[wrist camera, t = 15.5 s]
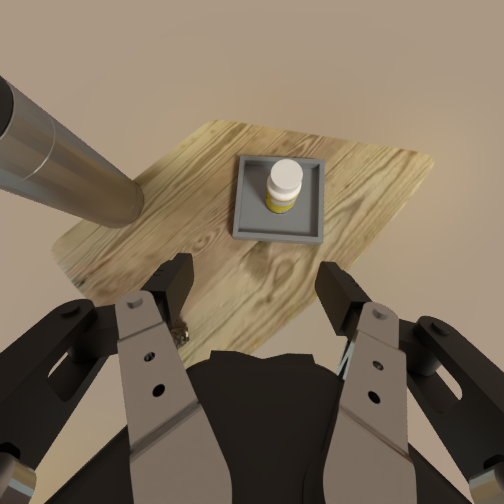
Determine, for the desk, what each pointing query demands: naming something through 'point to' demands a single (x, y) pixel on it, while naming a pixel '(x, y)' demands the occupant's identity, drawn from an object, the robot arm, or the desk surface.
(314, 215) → the tray
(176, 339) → the cat figurine
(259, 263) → the desk surface
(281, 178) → the supplement bottle
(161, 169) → the desk surface
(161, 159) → the desk surface
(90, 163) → the robot arm
